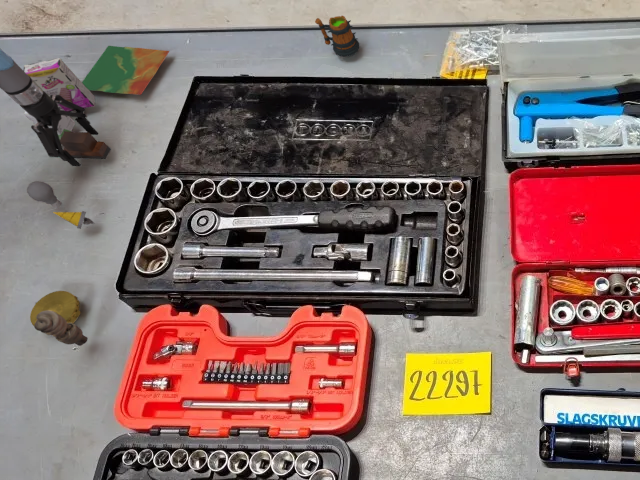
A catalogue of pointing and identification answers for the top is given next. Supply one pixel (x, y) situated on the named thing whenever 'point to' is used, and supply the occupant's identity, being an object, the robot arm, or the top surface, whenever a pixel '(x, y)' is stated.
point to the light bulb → (43, 193)
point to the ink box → (63, 125)
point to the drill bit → (75, 218)
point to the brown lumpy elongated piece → (59, 328)
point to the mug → (340, 36)
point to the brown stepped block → (84, 146)
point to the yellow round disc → (58, 306)
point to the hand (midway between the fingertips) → (85, 149)
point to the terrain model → (124, 70)
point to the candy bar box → (60, 82)
